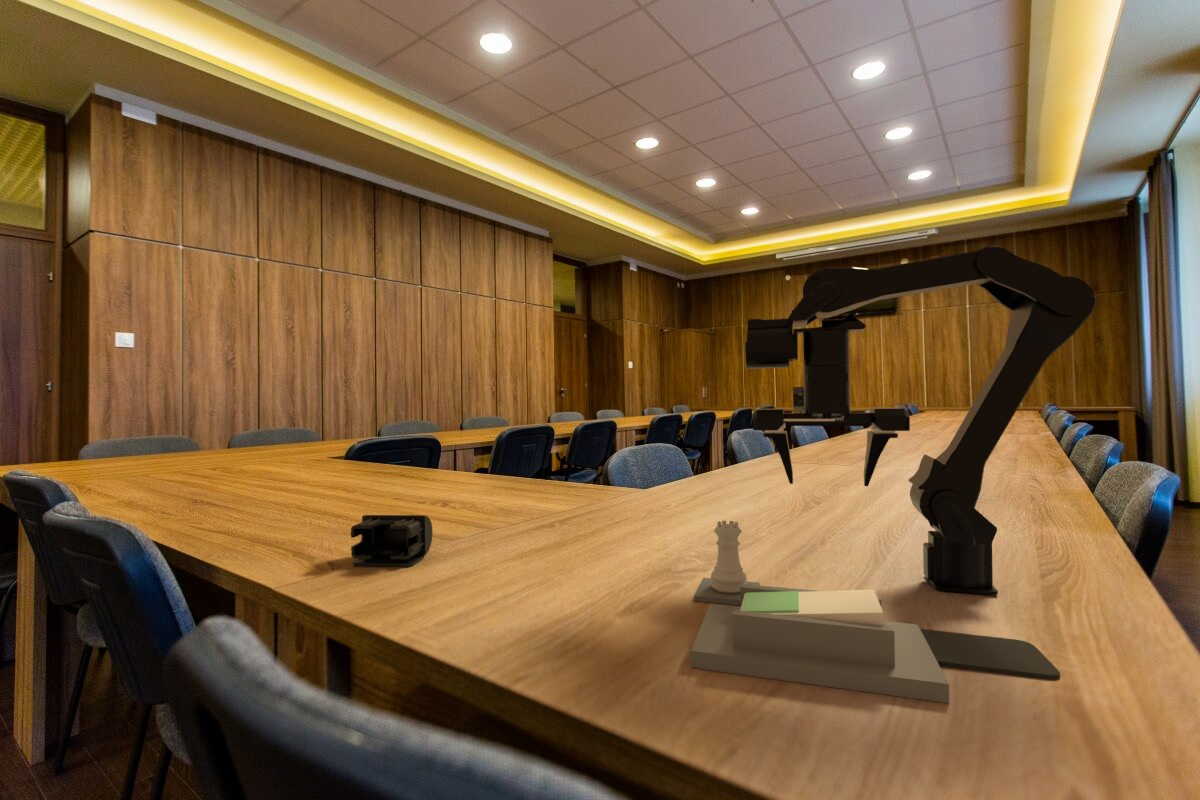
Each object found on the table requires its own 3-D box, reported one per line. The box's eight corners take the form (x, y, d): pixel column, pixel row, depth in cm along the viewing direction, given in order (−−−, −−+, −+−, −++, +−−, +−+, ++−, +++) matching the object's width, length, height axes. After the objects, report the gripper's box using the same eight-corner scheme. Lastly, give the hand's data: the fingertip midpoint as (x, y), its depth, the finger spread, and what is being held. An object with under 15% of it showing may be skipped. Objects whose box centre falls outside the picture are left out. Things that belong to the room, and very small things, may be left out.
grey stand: (917, 640, 55) (917, 593, 55) (949, 703, 44) (948, 645, 44) (710, 617, 62) (709, 576, 62) (691, 667, 51) (690, 616, 51)
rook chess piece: (751, 594, 67) (750, 526, 67) (713, 595, 67) (711, 527, 67) (743, 582, 71) (742, 518, 71) (707, 582, 72) (706, 519, 72)
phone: (1066, 677, 47) (866, 652, 52) (1066, 687, 47) (866, 661, 52) (1030, 640, 54) (857, 621, 59) (1030, 649, 54) (857, 629, 59)
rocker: (876, 605, 54) (873, 587, 54) (885, 630, 48) (882, 610, 48) (747, 608, 58) (744, 591, 58) (741, 631, 52) (738, 612, 52)
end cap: (433, 554, 89) (432, 511, 89) (414, 568, 82) (413, 521, 82) (372, 554, 90) (372, 511, 90) (348, 567, 83) (347, 521, 83)
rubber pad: (759, 587, 71) (759, 582, 71) (755, 607, 65) (755, 601, 65) (703, 582, 74) (703, 577, 74) (694, 600, 67) (694, 595, 67)
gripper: (894, 367, 80) (896, 478, 80) (757, 371, 86) (758, 474, 86) (909, 363, 70) (911, 491, 70) (751, 368, 76) (753, 485, 76)
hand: (827, 484), depth 76 cm, fingers open, 9 cm apart
